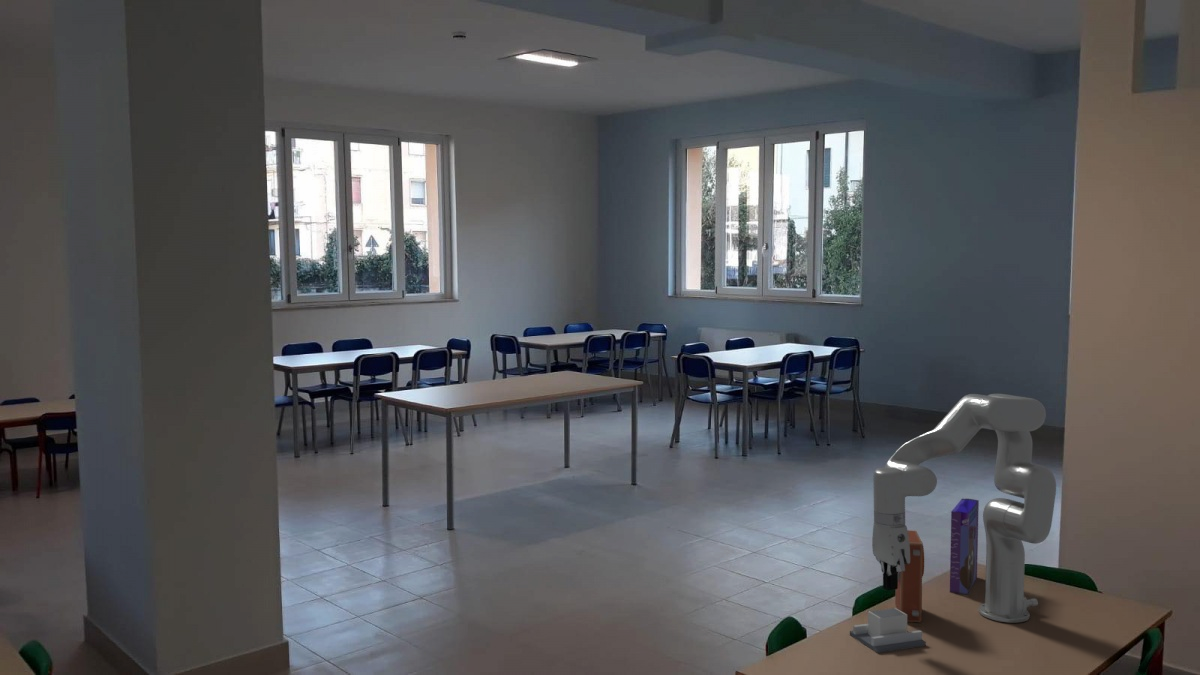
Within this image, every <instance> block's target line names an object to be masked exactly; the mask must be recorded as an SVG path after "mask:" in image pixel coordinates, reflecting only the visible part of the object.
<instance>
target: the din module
mask: <svg viewBox="0 0 1200 675" xmlns="http://www.w3.org/2000/svg"><path fill="white" fill-rule="evenodd" d="M867 624H868V635H869V636H871V637H876V636H883V635H890V634H897V633H904V632H907V631H908V622H907V614H905V613H904V612H902V611H900V610H898V609H897V608H896V607H892V608H885V609H884V608H882V609H877V610H876V609H875V610H869V611H868V612H867Z"/></svg>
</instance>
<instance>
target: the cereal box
mask: <svg viewBox="0 0 1200 675" xmlns="http://www.w3.org/2000/svg"><path fill="white" fill-rule="evenodd" d="M979 501H980V500H978V499H974V498H961V499H960V501H958V503H957V504H956V505H955V507H954V508H953V509H952V510H951V513H950V514H951V516H950V521H951V522H950V558H949V561H950V563H949V564H950V567H949V593H952V592H954V593H953V594H958V593H959V595H964V594H965V596H967V594H968V595H969V592H970V591H971V589H972V587H973V586H974V584H975V582H976V580H977V579H978V553H979V552H978V551H979V550H978V548H979V547H978V546H979V539H978V538H979V507H980V505H979ZM976 578H977V579H976Z"/></svg>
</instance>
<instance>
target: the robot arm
mask: <svg viewBox="0 0 1200 675" xmlns="http://www.w3.org/2000/svg"><path fill="white" fill-rule="evenodd" d="M1046 414H1047V412H1046V408H1045V406H1044V405H1043V403H1042V402H1041V401H1039V400H1038V399H1035V398H1032V397H1031V398H1030V397H1026V396H1018V395H1012V394H1006V393H990V394H988V395H984V394H980V393H979V394H977V393H969V394H965V395H964V396H963V397H962V398H960V399H959V401H957V403H956V404H955V405H953V407H952V408H951V409H950V410H949V412H948V413H947V414H946V415H945V416H944V417H943V418H942V420H941V421H939V422H938V423H937V425H936V426H935V427H934V428H933V429H931V430H929V431H927V432H924V433H923V434H920V435H919V436H916V437H914V438H912V439H910V440H909V441H907V442H905V443H904V444H902V445H901V446H900V447H899V448H898V449H896V451H895V452H894V453H893V454H892V456H891V457H889V459H888V460H887V461H886V463H885V465H884V467H879V468H876V469H875V470H874V471H873V479H872V480H873V481H872V482H873V485H872V486H873V527H872V554H873V556H874V557H875V560H876V561H877V562H878V563H879V564H880V568H881V569H880V570H881V572H882V587H883V590H886V591H893V590H896V589H897V588H898V574H899V572H903V571H905V566H904V564H910V545H909V536H908V527H907V525H906V497H925V496H928V495H930V494H932V492H934V491H935V490H936V487H937V484H938V478H937V476H936V474H935V472H933V470H931V469H930V468H928V467H926V466H923V465H920V464H922V463H924V462H925V461H929V460H932V459H936V458H943V457H947V456H948V457H949V456H952V455H955V454H958V453H960V452H961V451H962V450H963V449H964V448H965V447H966V446H967V445H968V444H969V442H970V441H971V440H972V439H973V438H974V436H976V434H977V433H978V432H979V431H980V430H982V429H985V430H993V431H995V434H996V436H997V451H996V452H997V453H996V460H995V467H994V476H993V477H994V478H993V484H994V486H995V488H996V489H997V490H998V491H1000V492H1002V493H1003V494H1006V495H1009V496H1013V497H1017V498H1020V499H1024V502H1022V501H1021V502H1020V501H1017V500H1014V499H1009V498H1003V497H997V498H992V499H991V500H990V501H988V502H987V503H986V504H985V506H984V508H983V511H982V521H983V526H984V530H985V539H986V540H985V542H986V543H985V544H986V545H985V546H986V547H985V548H986V551H985V552H986V554H985V587H984V588H985V595H984V596H985V597H984V603H982V604H980V605H979V606H978V613H979V614H980V616H983V617H984V618H987V619H989V620H992V621H997V622H1001V623H1011V624H1014V623H1015V624H1017V623H1023V622H1026V621H1029V619H1030V616H1031V614H1030V612H1029V611H1028V610H1027V609H1028V608H1029V607H1036V606H1038V604H1039V602H1038V599H1037V598H1029V599H1027V597H1026V596H1025V562H1026V561H1025V560H1026V554H1025V552H1026V551H1025V547H1024V543H1023V542H1025V543H1029V544H1037V545H1038V544H1040V543H1042V542H1044V541H1045V540H1046V539H1047V538H1048V537H1049V535H1050V533H1051V529H1052V524H1053V516H1054V508H1055V502H1056V494H1057V481H1056V477H1055V475H1054V473H1053V472H1052V471H1051V469H1049V468H1048V467H1046V466H1044V465H1041V464H1037V463H1033V462H1032V460H1033V458H1032V457H1033V443H1034V442H1033V437H1032V435H1031V432H1033V431H1036V430H1038V429H1040V428H1041V427H1042V426H1043V424H1044V423H1045V421H1046V418H1047V417H1046V416H1047V415H1046Z"/></svg>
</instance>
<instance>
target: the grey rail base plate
mask: <svg viewBox="0 0 1200 675" xmlns="http://www.w3.org/2000/svg"><path fill="white" fill-rule="evenodd" d="M849 636H851V637H852V638H854V639H856V640H857V641H858V642H860V643H861V644H863V645H864V646H866V647H867V648H869V649H870V648H871V650H872V651H873V650H874V651H873V652H874V653H876V654H877V653H879V652H880V653H886V652H892V651H899V650H905V649H906V650H907V649H912V648H920V647H926V645H927V644H926V643H927V641H925V640H924V639H923V631H922V630H920V629H919V630H912V631H908V630H907V632H904V633H897V634H890V635H883V636H876V637H871V636H869V635H868V623H863V624H854V625H853V626H852V630H850V631H849Z"/></svg>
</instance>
